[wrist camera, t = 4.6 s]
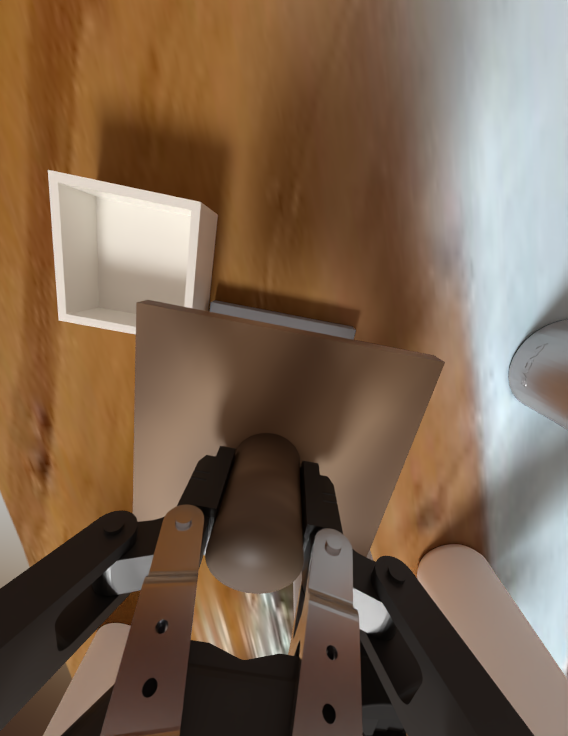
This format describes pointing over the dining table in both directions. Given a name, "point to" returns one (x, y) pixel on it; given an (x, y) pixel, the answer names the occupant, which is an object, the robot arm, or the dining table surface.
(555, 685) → the alcohol
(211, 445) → the lid
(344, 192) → the dining table surface
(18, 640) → the robot arm
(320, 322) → the mat
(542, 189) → the dining table surface
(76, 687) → the cylindrical container
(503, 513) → the dining table surface
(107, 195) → the dish
